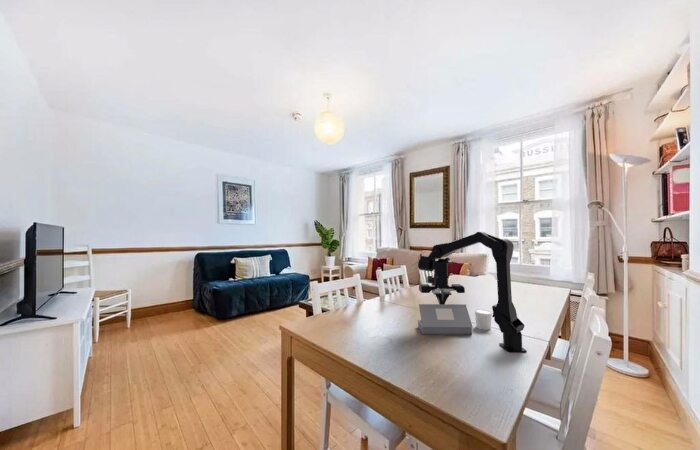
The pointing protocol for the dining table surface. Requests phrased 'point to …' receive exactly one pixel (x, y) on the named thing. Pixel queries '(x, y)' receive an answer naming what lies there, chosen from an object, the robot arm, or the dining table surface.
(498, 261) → the robot arm
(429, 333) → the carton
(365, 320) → the dining table surface
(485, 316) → the shot glass
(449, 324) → the lid flap
